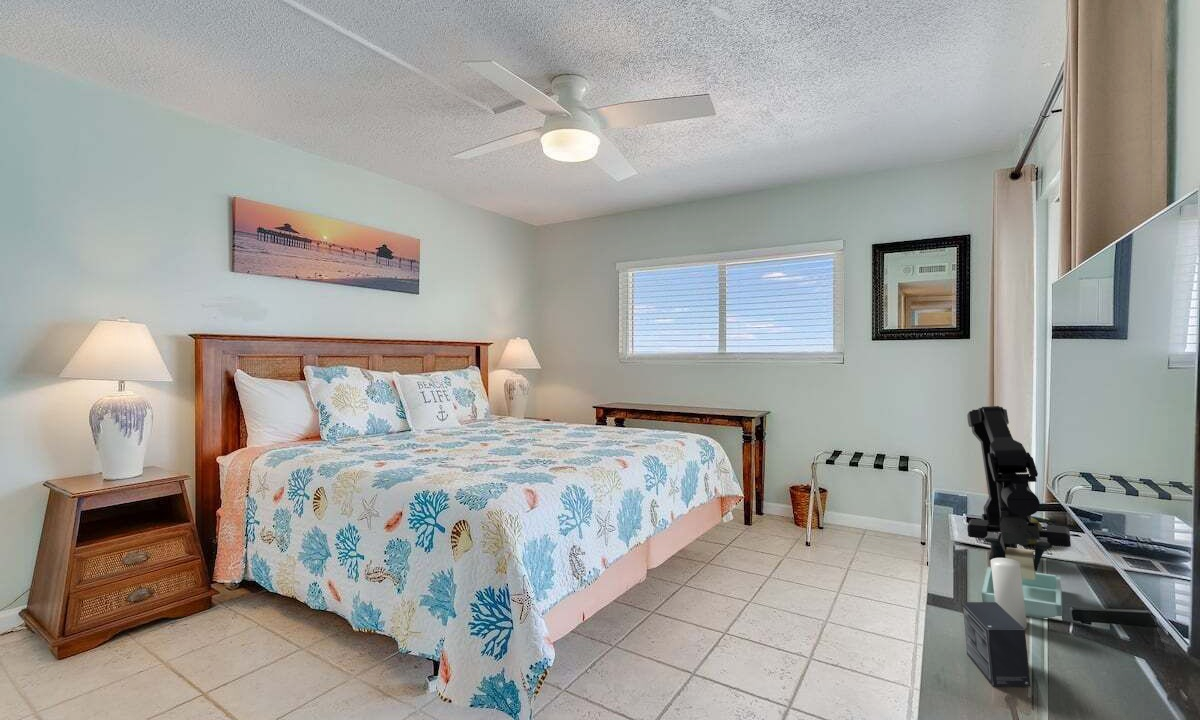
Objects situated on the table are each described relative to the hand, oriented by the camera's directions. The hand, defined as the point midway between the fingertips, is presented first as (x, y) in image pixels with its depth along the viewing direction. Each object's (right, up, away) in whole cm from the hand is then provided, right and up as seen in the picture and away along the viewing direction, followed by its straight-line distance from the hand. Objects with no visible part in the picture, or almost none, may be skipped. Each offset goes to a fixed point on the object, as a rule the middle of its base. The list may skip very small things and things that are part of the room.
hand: (1021, 568), depth 127 cm
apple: (+21, -3, +25) cm, 33 cm away
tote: (-2, -6, -3) cm, 7 cm away
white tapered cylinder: (-11, -7, -12) cm, 17 cm away
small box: (-24, -9, -26) cm, 36 cm away
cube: (0, -1, 0) cm, 1 cm away
